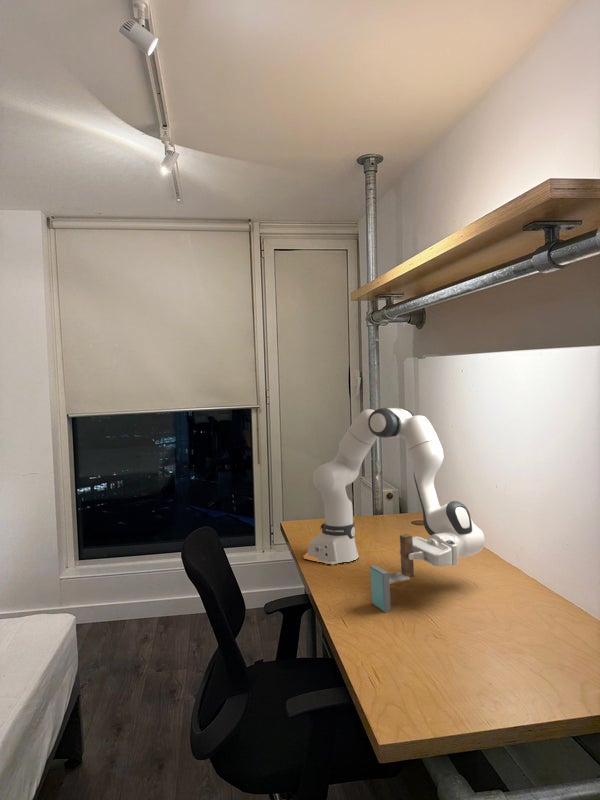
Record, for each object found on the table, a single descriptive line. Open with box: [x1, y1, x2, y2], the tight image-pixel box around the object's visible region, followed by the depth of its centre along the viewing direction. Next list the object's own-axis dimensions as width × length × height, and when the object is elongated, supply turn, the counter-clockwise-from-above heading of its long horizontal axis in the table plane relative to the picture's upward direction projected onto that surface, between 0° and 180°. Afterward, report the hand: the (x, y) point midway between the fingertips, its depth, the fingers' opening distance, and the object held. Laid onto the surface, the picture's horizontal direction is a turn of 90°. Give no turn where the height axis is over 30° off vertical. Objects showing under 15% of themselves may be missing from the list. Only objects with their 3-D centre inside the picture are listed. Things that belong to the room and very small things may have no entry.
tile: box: [369, 564, 392, 613], centre depth 175 cm, size 2×8×12 cm, turn 23°
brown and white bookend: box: [389, 533, 415, 585], centre depth 177 cm, size 10×6×13 cm, turn 113°
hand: (404, 554), depth 178 cm, fingers closed on brown and white bookend, 3 cm apart
